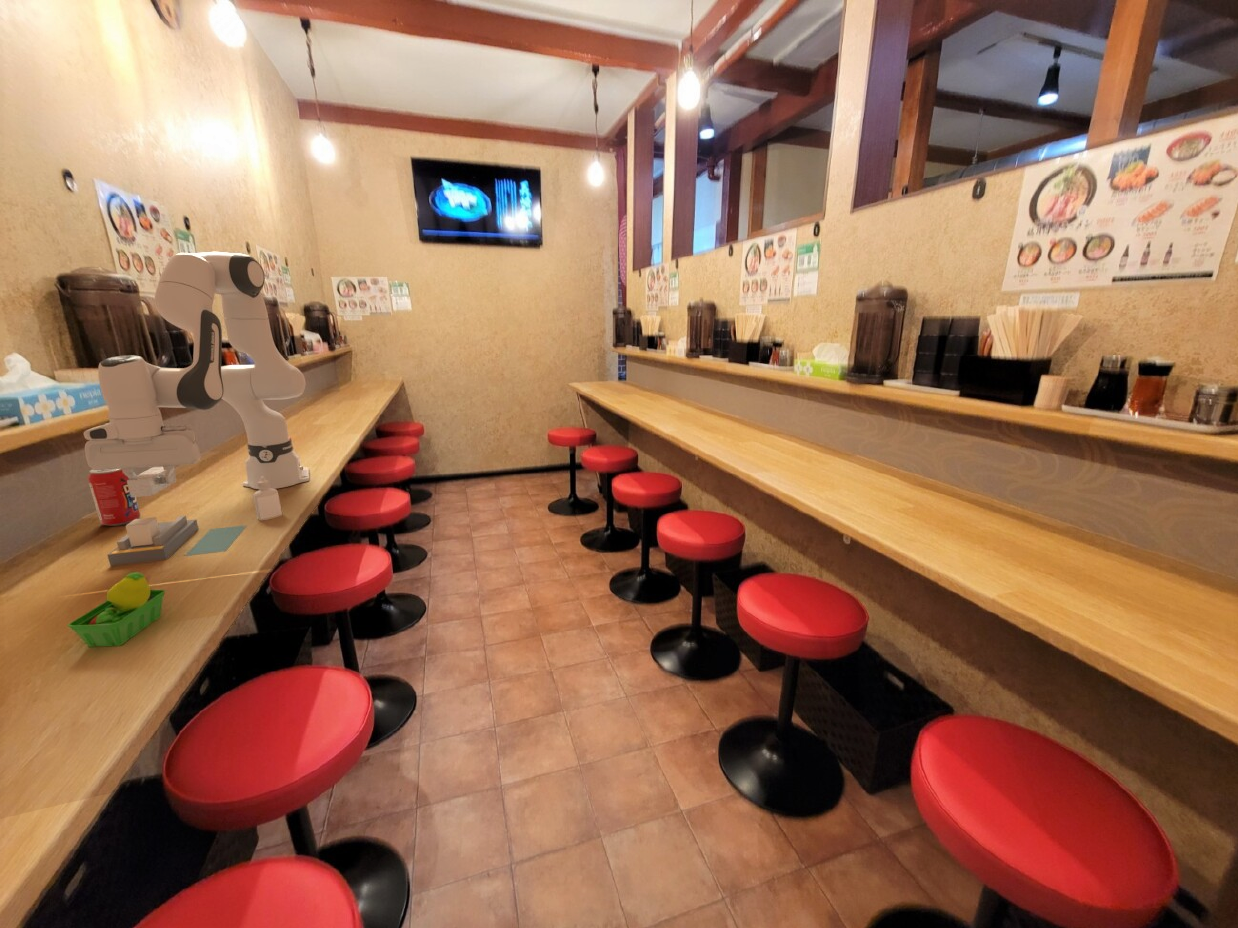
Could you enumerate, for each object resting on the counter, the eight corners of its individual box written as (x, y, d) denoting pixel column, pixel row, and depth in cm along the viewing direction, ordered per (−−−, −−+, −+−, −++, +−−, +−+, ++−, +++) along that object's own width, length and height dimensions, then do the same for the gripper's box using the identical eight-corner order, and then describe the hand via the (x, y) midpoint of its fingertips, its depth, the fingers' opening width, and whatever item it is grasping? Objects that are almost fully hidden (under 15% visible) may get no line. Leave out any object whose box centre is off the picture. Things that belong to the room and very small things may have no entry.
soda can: (92, 526, 132) (76, 472, 127) (124, 515, 139) (110, 463, 135) (118, 528, 131) (103, 474, 126) (149, 517, 138) (135, 465, 134)
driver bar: (157, 482, 126) (153, 467, 125) (176, 481, 127) (173, 465, 126) (130, 497, 115) (126, 480, 114) (152, 495, 116) (148, 479, 115)
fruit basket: (129, 613, 95) (114, 560, 92) (180, 612, 96) (166, 558, 93) (73, 652, 84) (52, 593, 81) (130, 650, 85) (112, 591, 82)
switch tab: (140, 539, 118) (134, 518, 116) (161, 537, 119) (156, 517, 118) (131, 546, 114) (125, 525, 113) (153, 544, 116) (147, 523, 114)
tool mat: (211, 529, 131) (210, 528, 131) (247, 526, 134) (247, 525, 134) (184, 556, 117) (184, 555, 117) (225, 552, 119) (225, 551, 119)
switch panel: (150, 534, 128) (146, 516, 126) (198, 529, 131) (194, 512, 130) (110, 567, 112) (104, 546, 110) (166, 560, 115) (161, 540, 113)
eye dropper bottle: (280, 519, 139) (272, 478, 135) (256, 522, 137) (247, 480, 133) (283, 513, 143) (276, 473, 139) (260, 516, 141) (252, 475, 137)
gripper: (198, 422, 123) (210, 476, 127) (91, 427, 116) (107, 483, 120) (187, 428, 117) (200, 484, 121) (73, 433, 110) (91, 492, 114)
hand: (153, 483), depth 120 cm, fingers closed on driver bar, 4 cm apart
